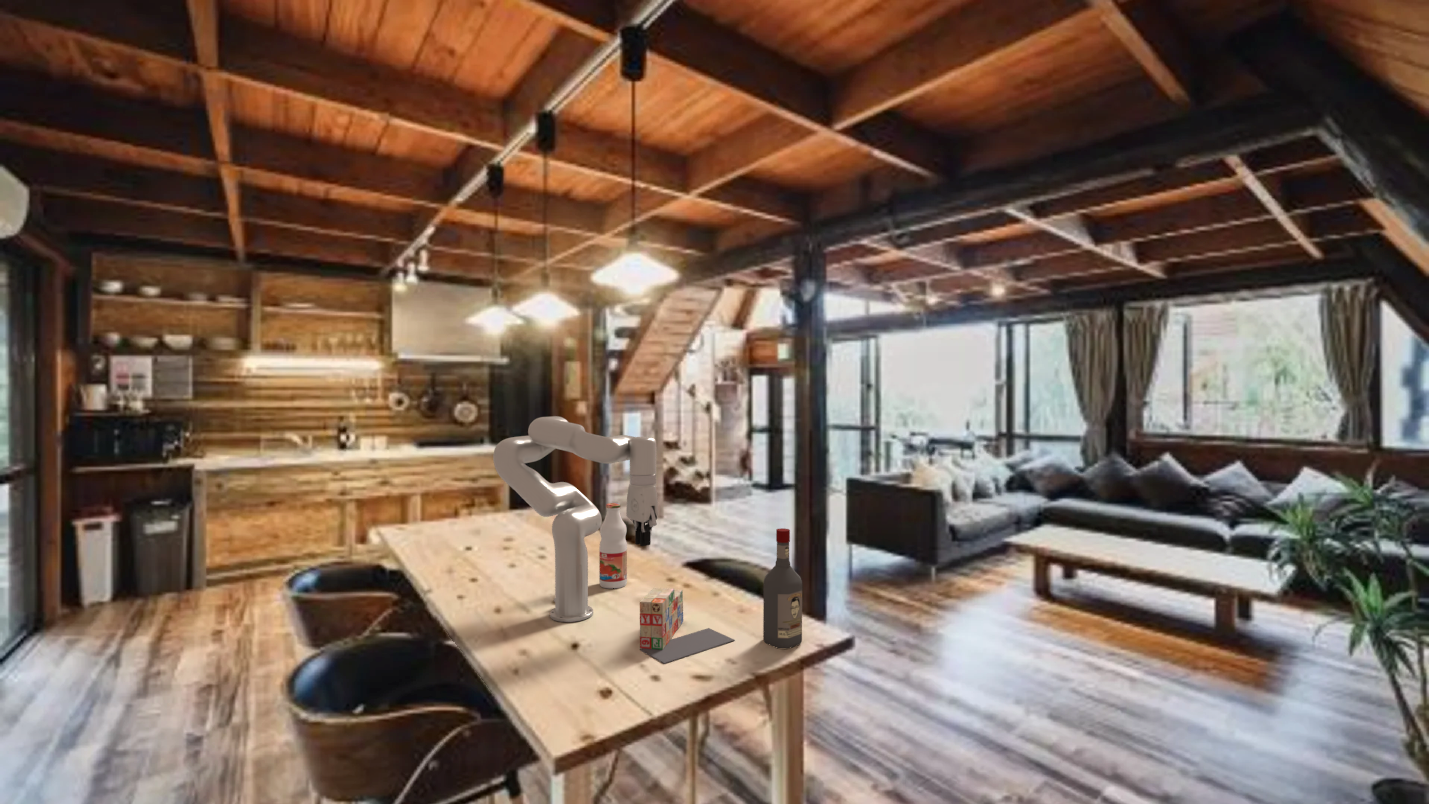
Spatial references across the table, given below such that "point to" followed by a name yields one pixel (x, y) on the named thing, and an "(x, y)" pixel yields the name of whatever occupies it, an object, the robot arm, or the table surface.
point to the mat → (688, 645)
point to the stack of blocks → (660, 617)
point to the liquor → (782, 599)
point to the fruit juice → (613, 549)
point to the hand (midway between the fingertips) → (642, 544)
